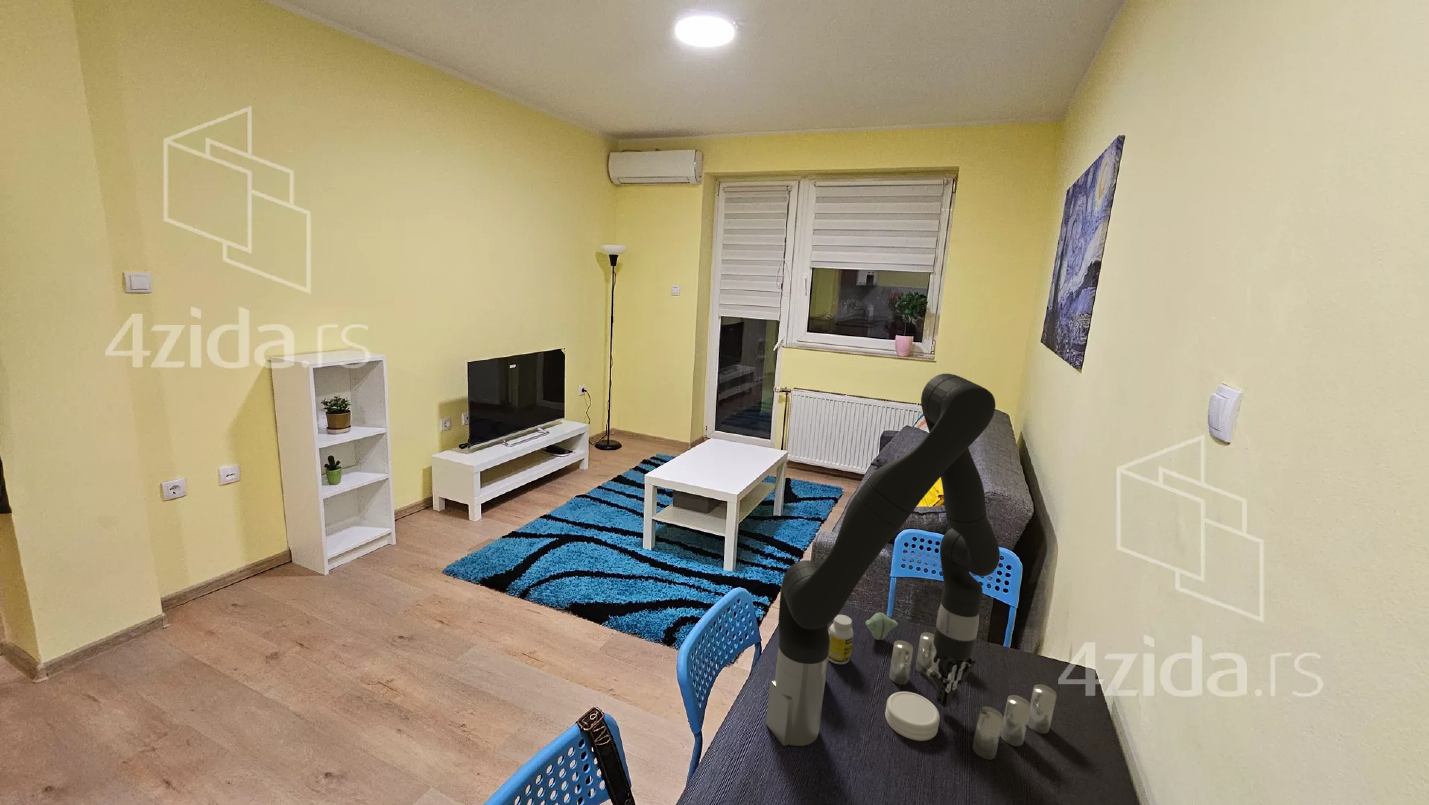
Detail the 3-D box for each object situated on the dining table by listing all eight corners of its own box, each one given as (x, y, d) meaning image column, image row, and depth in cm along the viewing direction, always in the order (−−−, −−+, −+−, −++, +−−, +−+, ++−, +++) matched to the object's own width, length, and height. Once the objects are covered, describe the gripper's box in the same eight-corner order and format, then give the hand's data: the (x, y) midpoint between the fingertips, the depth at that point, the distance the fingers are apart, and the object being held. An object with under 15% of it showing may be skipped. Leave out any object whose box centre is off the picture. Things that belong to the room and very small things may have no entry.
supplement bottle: (844, 668, 133) (850, 629, 131) (822, 659, 136) (826, 620, 133) (853, 656, 137) (858, 618, 135) (830, 647, 140) (835, 609, 138)
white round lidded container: (943, 720, 119) (946, 705, 119) (929, 750, 111) (932, 734, 111) (894, 698, 125) (896, 683, 124) (877, 725, 117) (879, 709, 116)
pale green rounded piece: (865, 644, 142) (868, 619, 141) (859, 634, 146) (862, 609, 145) (896, 643, 143) (900, 618, 142) (889, 633, 147) (893, 609, 146)
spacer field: (985, 762, 109) (993, 724, 107) (885, 675, 132) (890, 642, 130) (1053, 730, 119) (1061, 695, 117) (948, 653, 141) (953, 623, 139)
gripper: (948, 646, 111) (934, 726, 115) (995, 630, 117) (981, 706, 121) (917, 624, 118) (906, 700, 121) (963, 611, 124) (951, 683, 128)
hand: (943, 703), depth 121 cm, fingers closed
